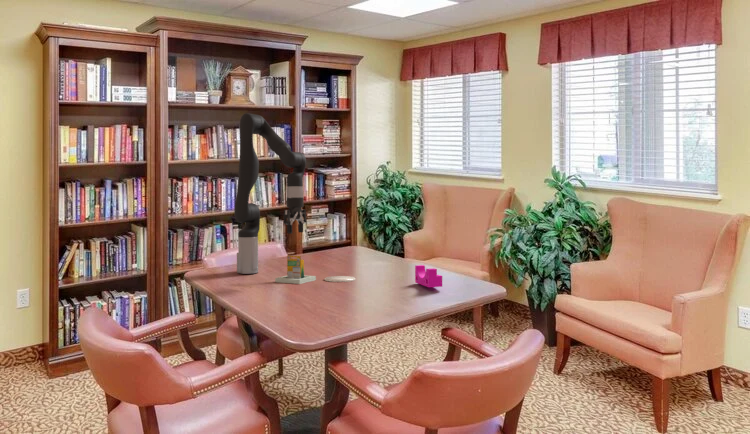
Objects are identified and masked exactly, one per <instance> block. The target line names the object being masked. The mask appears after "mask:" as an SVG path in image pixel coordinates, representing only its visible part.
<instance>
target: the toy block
mask: <svg viewBox="0 0 750 434" xmlns="http://www.w3.org/2000/svg"><path fill="white" fill-rule="evenodd" d="M414 277H415V278H414V281H415V283H416V284H418V285H421V286H424V287H427V288H440V287H443V275H440V274H438V269H437V268H434V267H433V268H426V266H425V265H424V264H420V265H415V266H414Z"/></svg>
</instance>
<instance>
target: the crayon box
mask: <svg viewBox="0 0 750 434" xmlns="http://www.w3.org/2000/svg"><path fill="white" fill-rule="evenodd" d="M286 257H287V258H286V260H287V261H286V265H287V267H286V268H287V269H286V272H287V274H286V276H287V278H291V279H301V278H304V275H305V260H304V259H301V255H287V256H286Z"/></svg>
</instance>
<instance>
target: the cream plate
mask: <svg viewBox="0 0 750 434" xmlns="http://www.w3.org/2000/svg"><path fill="white" fill-rule="evenodd" d="M324 281H325V282H330V283H347V282H348V283H349V282H354V281H356V277H354V276H347V275H335V276H333V275H331V276H327V277H324Z"/></svg>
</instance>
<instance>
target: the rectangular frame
mask: <svg viewBox="0 0 750 434" xmlns="http://www.w3.org/2000/svg"><path fill="white" fill-rule="evenodd" d="M316 280H317V276H316V275H307V274H306V275H305V274H304V278H301V279H291V278H287V275H284V276H279V277H275V279H274V283H281V284H294V285H301V284H305V283H310V282H314V281H316Z"/></svg>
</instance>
